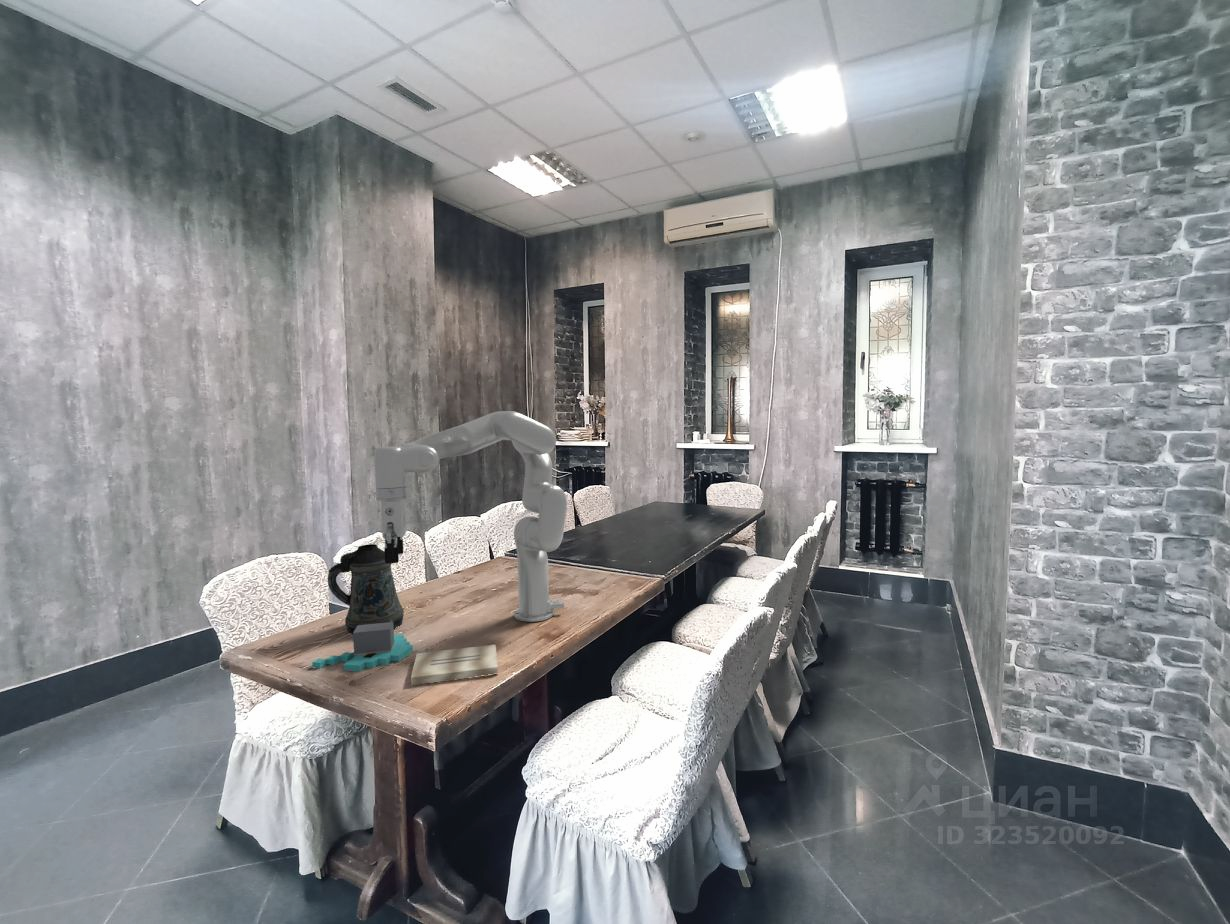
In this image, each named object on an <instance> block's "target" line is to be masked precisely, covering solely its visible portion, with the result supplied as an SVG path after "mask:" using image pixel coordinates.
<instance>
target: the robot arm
mask: <svg viewBox="0 0 1230 924" xmlns="http://www.w3.org/2000/svg"><path fill="white" fill-rule="evenodd" d="M500 441H511V443H512V446H513V448H514V449H515V450H516V451H517V452H518V453H519V454H520V456H521V457H522V460H523V462H524V466H525V467H524V468H525V470H524V471H525V472H524V473H525V474H524V482H523V490H522V498H521V500H522V501H521V502H522V506H523V508H524V509H525V510H526V511H528V512H531V513H533V514H538V517H537V516H525V517H521V518H520V519H519V520H518V521H517V522H516V524H515V526H514V529H513V539H514V544H515V549H516V555H517V558H516V559H517V580H518V581H517V582H518V583H517V586H518V587H517V588H518V609H516V610H515V611H514V614H513V616H514V618H515V619H516V620H517V621H520V622H525V623H526V622H529V623H531V622H533V623H535V622H542V621H546V620H548V619H551V618H553V616H554V614H555V609H564V608H565V603H564V601H560V600H553V601H552V600H551V599H550V595H549V593H550V592H549V558H548V557H549V556H548V553H550V552H553V551H555V550H557V549H558V548H559V547H560V545H561V543H562V541H563V538H564V533H565V524H566V517H567V509H568V506H567V505H568V501H567V500H568V499H567V496H566V493H565V491H564V490H563V489H562V488H561V487H560V486H559V485H556V484H553V483H552V481H553V480H552V479H553V462H552V459H551V456H550V453H551V452H552V451H553V450H554V449H555V447H556V444H557V438H556V434H555V432H554V431H553V430H552V429H551V428H550V427H548V426H547V425H545V424H543V423H540V422H538V421H536V420H534V419H533V418H530V417H528V416H526V415H524V414H522V413H520V412H517V411H515V410H505V411H503V410H501V411H500V410H499V411H494V412H490V413H488V414H485V415H483V416H480V417H478V418H475V419H473V420H471V421H467V422H465V423H462V424H460V425H457V426H454V427H450V428H448V429H445V430H442V431H439V432H436V433H432V434H430V435H427V436H423V437H421V438H418V439H415V440H413V441H410V442H408V443H406V444H404V445H402V446H379V447H376V448H375V449H374V454H373V457H374V458H373V459H374V461H373V463H374V479H375V480H374V481H375V483H374V484H375V498H376V499H375V501H376V502H380V518H381V520H380V521H381V534H382V539H384V549H383V551H384V552H385V563H386V564H389V563H392V564H398V563H399V557H400V555H403V554H404V539H403V537H405V535H406V533H407V521H406V520H407V518H406V508H405V500H407V499H408V487H407V485H408V483H407V481H408V480H407V473H418V474H425V473H426V474H427V473H429V472H432V471H433V470H434V469H435V468H436V467H437V466H438V464H439V461H440V460H441V459H445V458H451V457H458V456H459V457H460V456H466V455H469V454H472V453H474V452H477V451H480V450H481V449H484V448H487V447H488V446H491V445H494V444H496V443H498V442H500Z"/></svg>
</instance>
